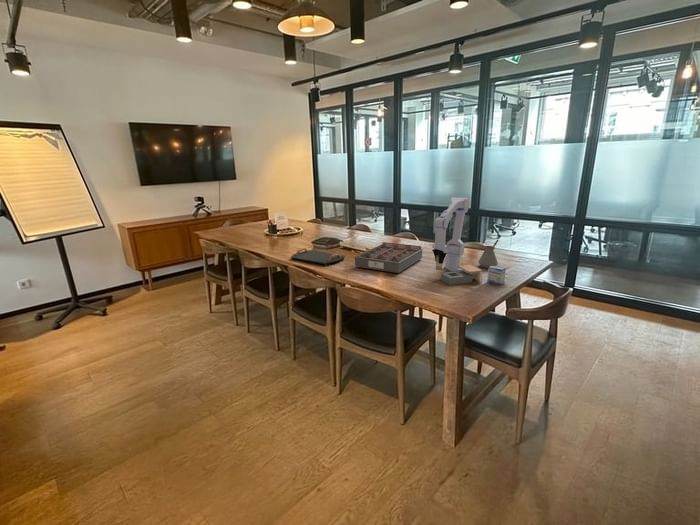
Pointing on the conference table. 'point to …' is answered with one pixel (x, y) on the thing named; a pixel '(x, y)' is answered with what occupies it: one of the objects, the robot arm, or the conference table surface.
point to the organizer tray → (389, 257)
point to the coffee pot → (488, 257)
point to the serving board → (317, 256)
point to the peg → (438, 266)
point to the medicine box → (496, 275)
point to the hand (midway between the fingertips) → (439, 262)
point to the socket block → (456, 277)
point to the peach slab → (472, 271)
